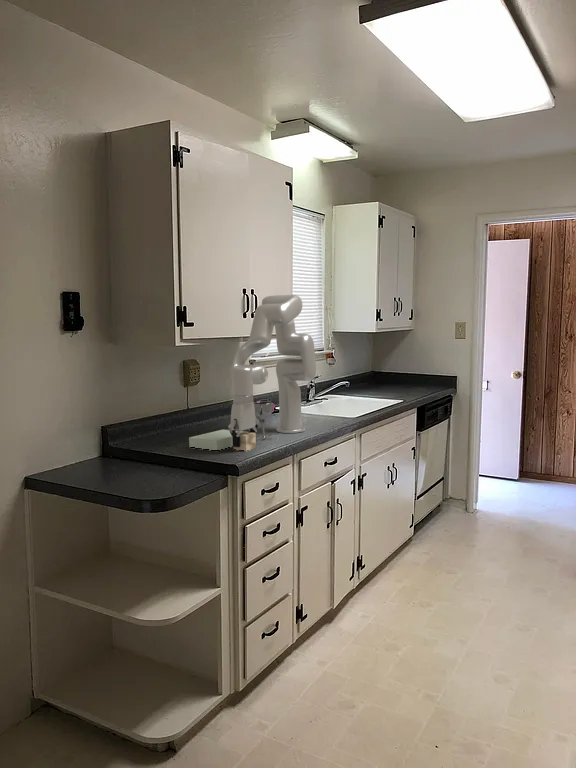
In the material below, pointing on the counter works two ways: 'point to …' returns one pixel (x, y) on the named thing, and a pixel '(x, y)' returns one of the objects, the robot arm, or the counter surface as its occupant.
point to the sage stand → (212, 440)
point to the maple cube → (247, 441)
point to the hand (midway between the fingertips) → (244, 444)
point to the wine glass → (263, 415)
